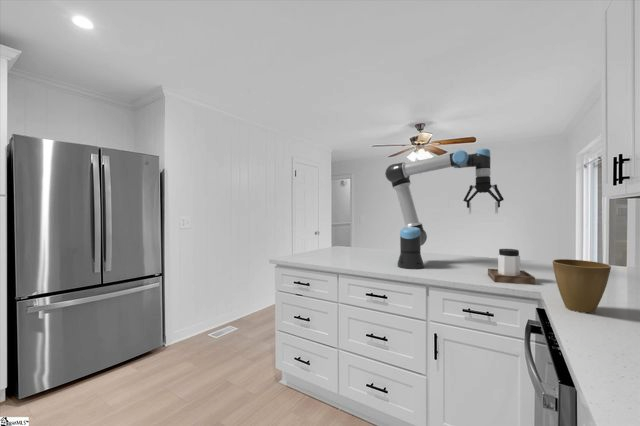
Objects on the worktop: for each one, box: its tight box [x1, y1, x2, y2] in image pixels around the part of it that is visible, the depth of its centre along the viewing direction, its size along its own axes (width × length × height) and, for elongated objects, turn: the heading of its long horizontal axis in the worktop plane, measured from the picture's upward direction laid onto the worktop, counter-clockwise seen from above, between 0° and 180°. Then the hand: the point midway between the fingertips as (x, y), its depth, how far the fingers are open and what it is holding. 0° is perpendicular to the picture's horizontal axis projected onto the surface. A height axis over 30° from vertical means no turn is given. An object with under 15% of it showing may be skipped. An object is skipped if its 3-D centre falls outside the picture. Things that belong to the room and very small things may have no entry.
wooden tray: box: [487, 268, 536, 286], centre depth 145 cm, size 16×16×3 cm
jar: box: [497, 248, 521, 276], centre depth 145 cm, size 9×8×12 cm
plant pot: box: [552, 258, 612, 313], centre depth 101 cm, size 15×15×16 cm
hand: (483, 213), depth 171 cm, fingers open, 13 cm apart
